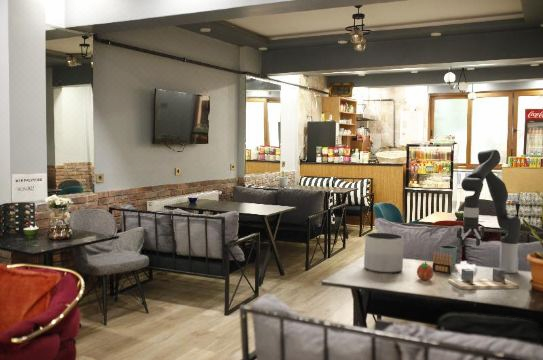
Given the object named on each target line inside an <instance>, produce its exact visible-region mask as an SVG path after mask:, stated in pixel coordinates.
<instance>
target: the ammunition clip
mask: <svg viewBox="0 0 543 360" xmlns="http://www.w3.org/2000/svg"><path fill="white" fill-rule="evenodd" d="M431 267H432V269H433V273H438V274H446V275H452V268H451V253H450V255H449V261H448V253H447V254H446V260H445V253H443V259H442V252H441V253H440V251H437V252H436V251H434V252H433V258H432V266H431Z"/></svg>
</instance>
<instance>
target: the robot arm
mask: <svg viewBox="0 0 543 360" xmlns="http://www.w3.org/2000/svg"><path fill="white" fill-rule="evenodd" d="M477 160H478V164H479V165H478V166H476V167H475V168H474V170H472V173H469V174H467V176H465V177H464V178H463V179H462V181H461V185H460V186H461V189H462V190H463V191H464V192H473V194H472V195H466V196H465V197H464V207H463V218H462V219H463V221H462V222H463V224H462V225H463V226H457V228H456V238H458V239H460V240H459V245H460V246H461V247H464V246H465V238H466V237H467V236H475V238H476V239H475V246H476V247H479V246H480V245H481V240H482V239H484V237H485V227H484V226H479V217H480V209H479V203H480V197H481V193H482V191H483V187H484V180H485V181H486V184H487V187H488V191H489V195H490V198H491V201H492V203H493V206H494V210H495V215H496V220H497V224H498V226H499V229H501V230H503V231H507V233H506V235H504V236H500V244H499V263H498V264H499V265H498V268H501V269H503V270H505V274H516V273H518V272H519V256H518V248H519V247H518V245H519V239H520V235H521V226H522V225H521V224H522V223H521V219H520V217H518V216H516V215H510V214H509V213H508V211H507V208H506V207H507V205H506V204H507V202H508V199H509V192H508V189H507V186H506V184H505V182H504V181H503V180H502V179H501V178H500V177H499V176H498V175H496V174H495V173H494V172H493V169H495V168H496V167H497V166H498V165H500V162H501V154H500V152H499V150H497V149H488V150H482V151H479V152H478V153H477ZM478 231H479V232H478Z"/></svg>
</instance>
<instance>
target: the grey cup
mask: <svg viewBox="0 0 543 360" xmlns="http://www.w3.org/2000/svg"><path fill="white" fill-rule="evenodd" d="M457 250H458V247H457V246H455V245H450V244H449V245H447V244H444V245H443V244H442V245H440V246H439V254H440V253H441V252H442V259H443V253H445V260H446V254H447V253H448V261H449V255H450V253H451V269H453V268H452V267H454V266H455V267H456V259H457V253H458V252H457ZM455 267H454V268H455Z"/></svg>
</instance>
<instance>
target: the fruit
mask: <svg viewBox="0 0 543 360" xmlns="http://www.w3.org/2000/svg"><path fill="white" fill-rule="evenodd" d="M416 274H417V277H418V279H420V280H422V281H430V280H431V279H432V278H433V276H434V272H433V269H432V266H431V265H430V264H428V263H427V261H424V263H421V264H419V266H418V267H417V270H416Z"/></svg>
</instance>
